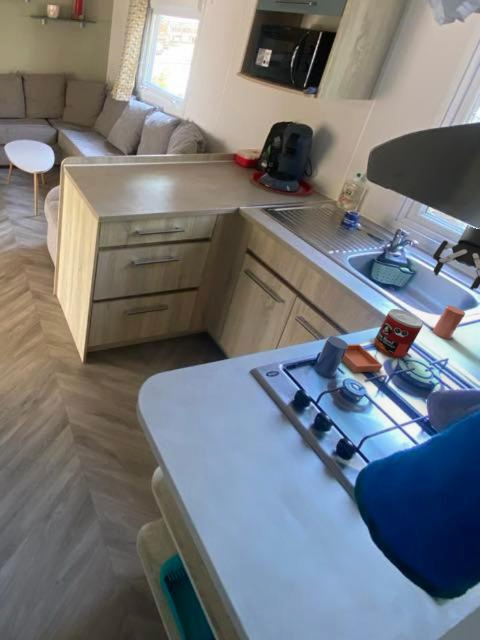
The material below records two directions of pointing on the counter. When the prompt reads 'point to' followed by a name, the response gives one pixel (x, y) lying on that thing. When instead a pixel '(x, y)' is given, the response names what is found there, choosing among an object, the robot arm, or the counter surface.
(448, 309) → the cylinder
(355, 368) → the terracotta tray
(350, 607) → the counter surface
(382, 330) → the canned food
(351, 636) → the counter surface
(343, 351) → the cylinder
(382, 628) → the counter surface
